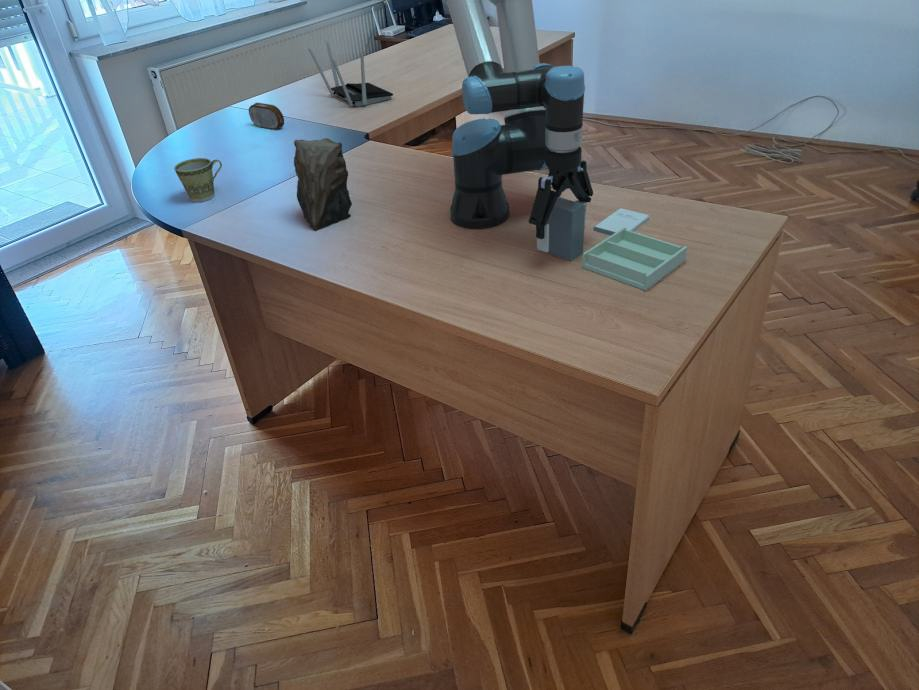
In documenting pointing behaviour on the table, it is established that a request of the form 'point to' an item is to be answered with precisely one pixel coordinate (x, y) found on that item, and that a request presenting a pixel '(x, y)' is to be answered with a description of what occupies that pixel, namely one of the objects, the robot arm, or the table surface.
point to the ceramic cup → (197, 178)
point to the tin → (266, 116)
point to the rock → (321, 182)
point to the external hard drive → (621, 221)
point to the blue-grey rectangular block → (566, 229)
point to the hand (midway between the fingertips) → (561, 239)
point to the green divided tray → (634, 258)
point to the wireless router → (353, 85)
